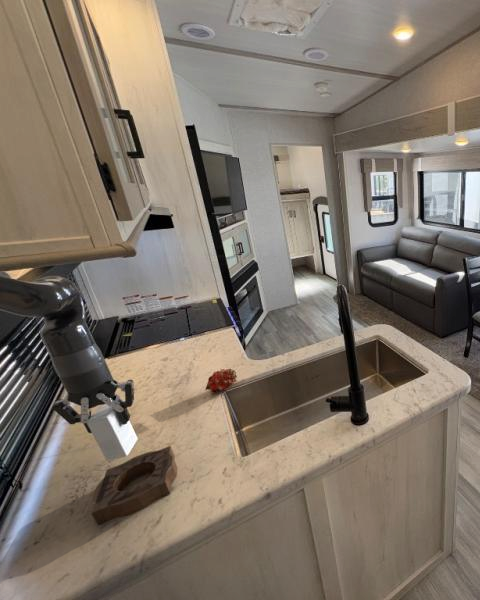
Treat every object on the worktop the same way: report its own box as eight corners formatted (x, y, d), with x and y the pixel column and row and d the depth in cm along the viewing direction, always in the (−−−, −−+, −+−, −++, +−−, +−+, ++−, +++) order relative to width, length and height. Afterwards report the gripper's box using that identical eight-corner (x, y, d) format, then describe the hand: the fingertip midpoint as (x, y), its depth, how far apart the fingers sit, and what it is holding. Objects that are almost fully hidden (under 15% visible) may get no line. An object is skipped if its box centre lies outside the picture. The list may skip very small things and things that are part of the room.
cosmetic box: (118, 443, 78) (100, 405, 74) (138, 439, 79) (121, 401, 75) (105, 462, 73) (85, 422, 69) (127, 457, 74) (108, 417, 70)
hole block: (91, 531, 70) (83, 519, 69) (108, 479, 83) (103, 468, 82) (174, 494, 77) (169, 483, 76) (179, 452, 90) (174, 442, 89)
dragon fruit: (242, 383, 125) (213, 403, 116) (229, 369, 126) (199, 388, 118) (242, 374, 119) (211, 394, 110) (228, 359, 120) (197, 378, 112)
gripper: (126, 349, 74) (150, 407, 80) (43, 369, 67) (76, 430, 73) (119, 362, 68) (146, 424, 74) (27, 386, 61) (64, 451, 67)
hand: (111, 427), depth 73 cm, fingers closed on cosmetic box, 4 cm apart
